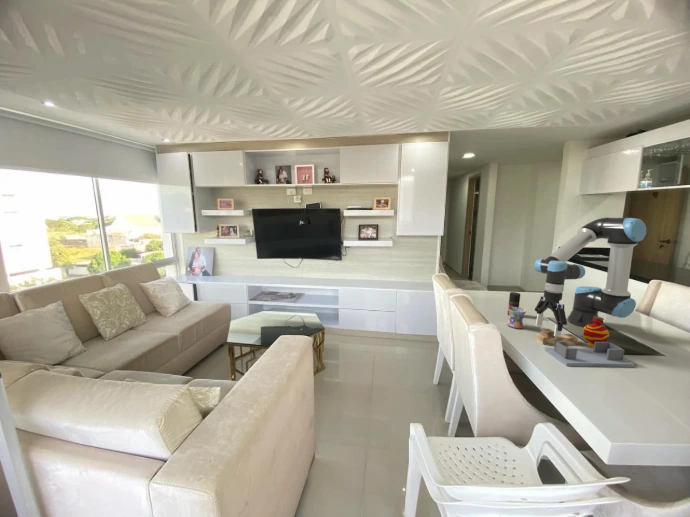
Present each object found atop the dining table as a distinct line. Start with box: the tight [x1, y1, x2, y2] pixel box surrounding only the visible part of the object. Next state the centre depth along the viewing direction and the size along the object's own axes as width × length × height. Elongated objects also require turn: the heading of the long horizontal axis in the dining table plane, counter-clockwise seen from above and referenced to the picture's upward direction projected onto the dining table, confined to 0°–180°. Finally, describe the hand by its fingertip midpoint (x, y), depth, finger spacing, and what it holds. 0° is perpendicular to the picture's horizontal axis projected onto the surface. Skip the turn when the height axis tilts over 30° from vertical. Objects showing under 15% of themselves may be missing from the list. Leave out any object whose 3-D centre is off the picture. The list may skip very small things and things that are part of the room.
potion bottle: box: [582, 316, 610, 348], centre depth 141 cm, size 10×10×15 cm
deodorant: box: [507, 291, 521, 316], centre depth 182 cm, size 6×6×15 cm
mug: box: [506, 307, 527, 329], centre depth 165 cm, size 12×9×11 cm
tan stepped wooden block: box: [536, 328, 579, 346], centre depth 145 cm, size 18×4×7 cm, turn 90°
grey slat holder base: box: [544, 341, 634, 368], centre depth 129 cm, size 29×14×6 cm, turn 89°
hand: (547, 330), depth 144 cm, fingers open, 13 cm apart
